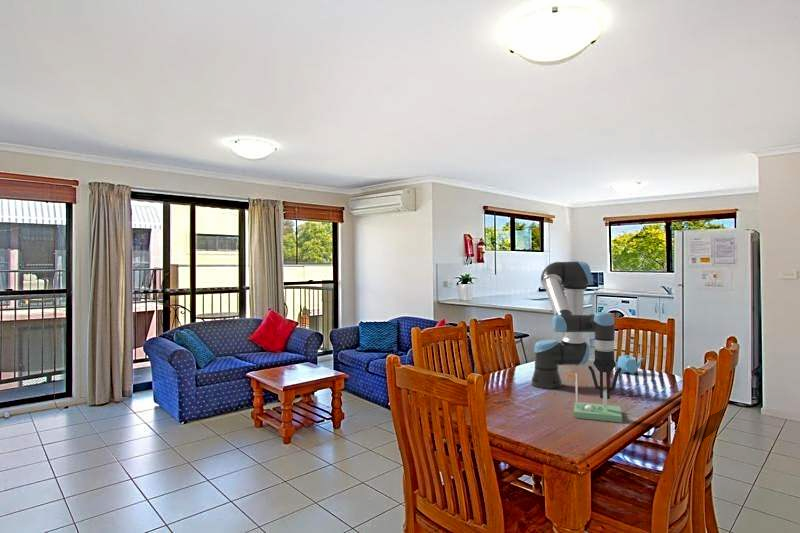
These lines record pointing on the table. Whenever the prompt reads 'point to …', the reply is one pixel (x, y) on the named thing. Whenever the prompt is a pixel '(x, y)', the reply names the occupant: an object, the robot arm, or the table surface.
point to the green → (595, 409)
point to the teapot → (628, 364)
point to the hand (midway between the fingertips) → (605, 406)
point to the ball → (588, 407)
